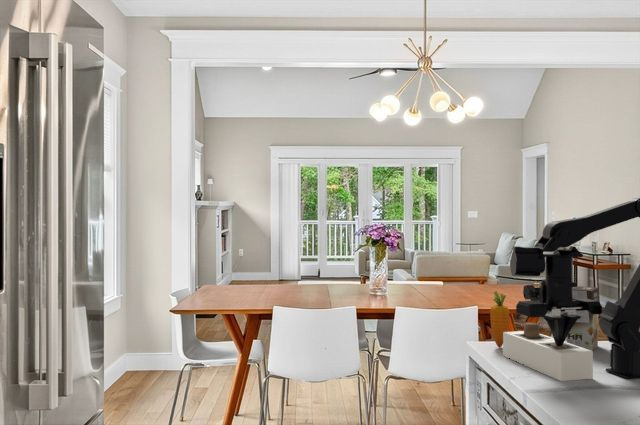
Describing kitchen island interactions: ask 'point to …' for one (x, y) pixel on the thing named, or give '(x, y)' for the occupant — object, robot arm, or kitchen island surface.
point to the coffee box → (585, 321)
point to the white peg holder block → (549, 356)
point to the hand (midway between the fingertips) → (559, 345)
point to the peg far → (531, 330)
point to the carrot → (499, 319)
